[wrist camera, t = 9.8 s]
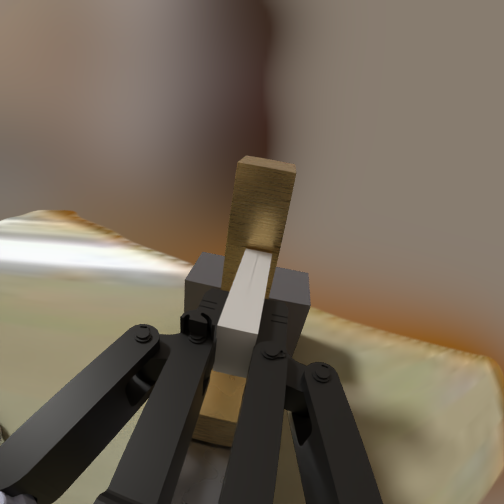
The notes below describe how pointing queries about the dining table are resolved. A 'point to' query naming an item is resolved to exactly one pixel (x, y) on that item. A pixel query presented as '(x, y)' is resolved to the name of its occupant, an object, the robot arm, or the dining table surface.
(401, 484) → the dining table surface
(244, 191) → the t-shaped wooden piece
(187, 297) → the slotted grey block
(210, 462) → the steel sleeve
